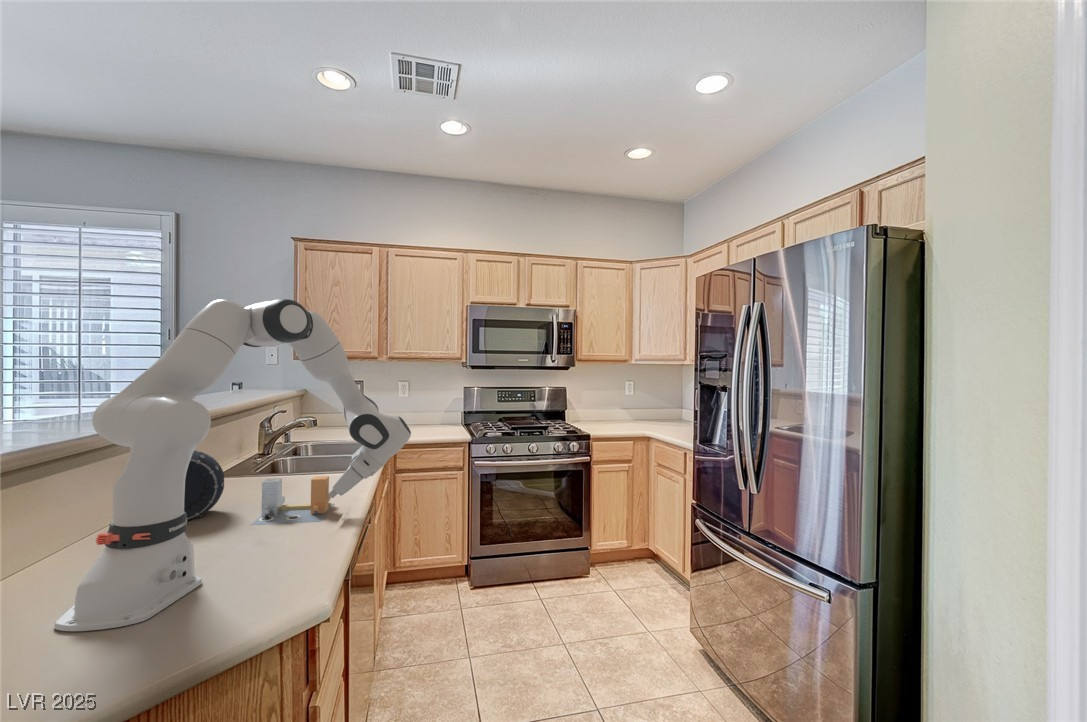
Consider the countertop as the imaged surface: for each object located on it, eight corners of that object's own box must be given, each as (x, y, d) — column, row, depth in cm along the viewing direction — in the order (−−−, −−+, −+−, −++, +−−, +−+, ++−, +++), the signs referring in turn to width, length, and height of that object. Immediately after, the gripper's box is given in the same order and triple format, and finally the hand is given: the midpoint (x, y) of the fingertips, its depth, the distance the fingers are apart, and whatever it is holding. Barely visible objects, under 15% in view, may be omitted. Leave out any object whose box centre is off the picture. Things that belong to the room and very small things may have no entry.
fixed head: (273, 519, 134) (274, 484, 134) (257, 520, 133) (258, 484, 133) (286, 507, 145) (287, 474, 145) (272, 507, 144) (272, 475, 144)
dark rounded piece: (221, 521, 135) (223, 451, 135) (130, 532, 125) (132, 456, 125) (225, 510, 144) (226, 445, 144) (140, 520, 134) (142, 450, 135)
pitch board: (321, 525, 133) (321, 517, 133) (250, 529, 129) (250, 521, 129) (334, 507, 149) (335, 500, 149) (272, 510, 146) (272, 503, 146)
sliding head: (322, 516, 136) (323, 481, 136) (307, 516, 135) (308, 481, 136) (332, 504, 148) (332, 472, 148) (318, 505, 147) (318, 472, 147)
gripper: (364, 448, 153) (331, 479, 151) (352, 461, 133) (314, 497, 131) (378, 462, 154) (346, 493, 152) (369, 476, 134) (331, 512, 132)
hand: (331, 495), depth 141 cm, fingers closed
